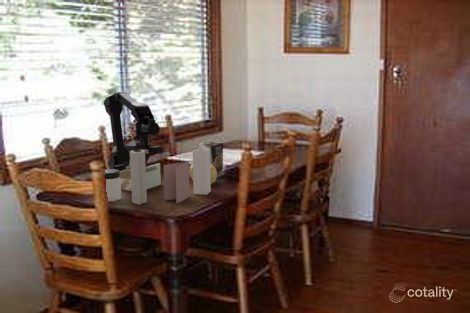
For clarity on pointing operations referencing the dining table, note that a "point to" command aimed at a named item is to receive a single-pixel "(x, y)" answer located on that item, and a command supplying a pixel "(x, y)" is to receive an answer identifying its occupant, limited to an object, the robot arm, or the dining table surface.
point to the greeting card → (176, 181)
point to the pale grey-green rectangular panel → (153, 176)
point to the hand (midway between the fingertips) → (143, 167)
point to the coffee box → (216, 156)
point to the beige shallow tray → (125, 179)
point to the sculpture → (212, 173)
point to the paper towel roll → (138, 176)
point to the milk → (201, 170)
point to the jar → (113, 184)
